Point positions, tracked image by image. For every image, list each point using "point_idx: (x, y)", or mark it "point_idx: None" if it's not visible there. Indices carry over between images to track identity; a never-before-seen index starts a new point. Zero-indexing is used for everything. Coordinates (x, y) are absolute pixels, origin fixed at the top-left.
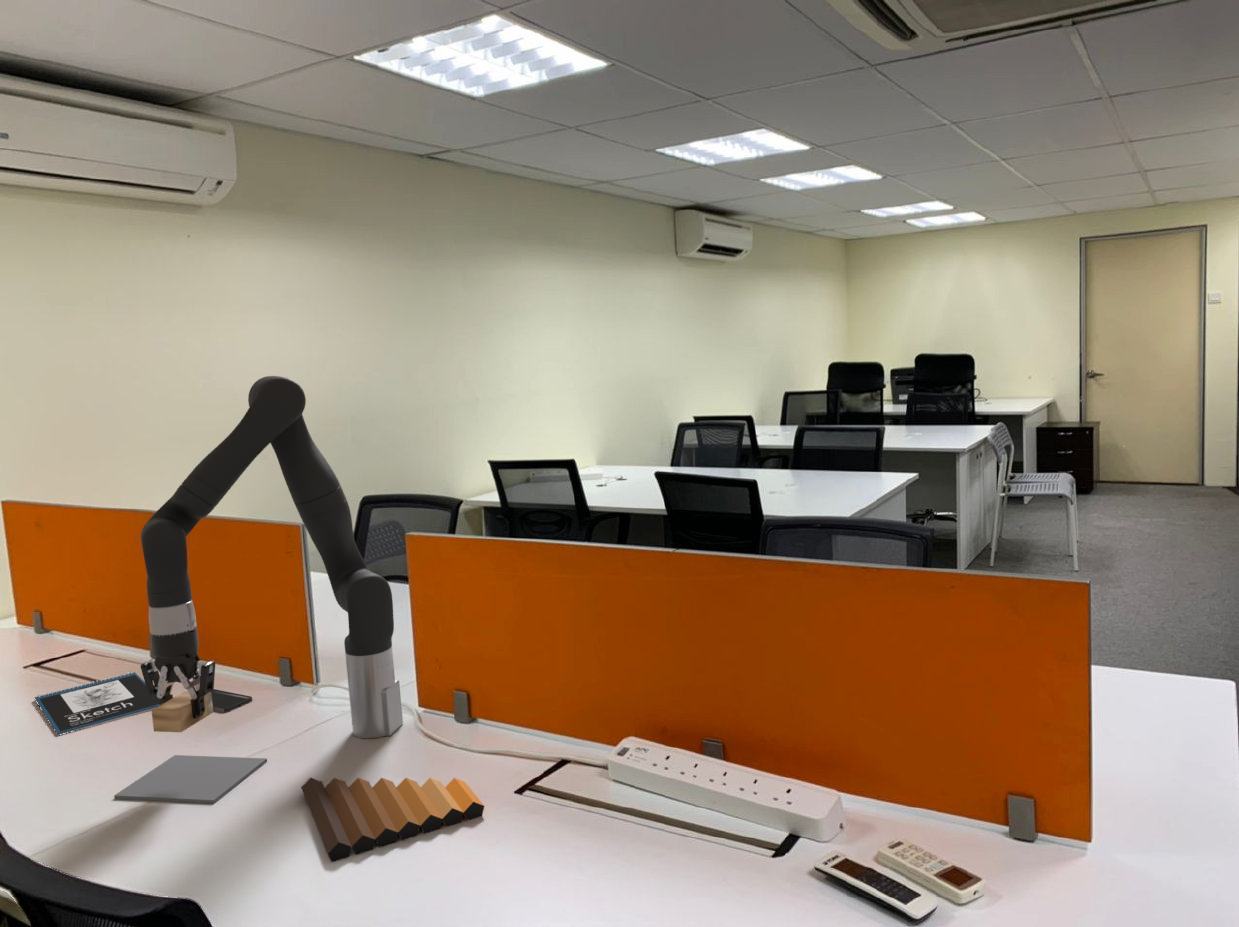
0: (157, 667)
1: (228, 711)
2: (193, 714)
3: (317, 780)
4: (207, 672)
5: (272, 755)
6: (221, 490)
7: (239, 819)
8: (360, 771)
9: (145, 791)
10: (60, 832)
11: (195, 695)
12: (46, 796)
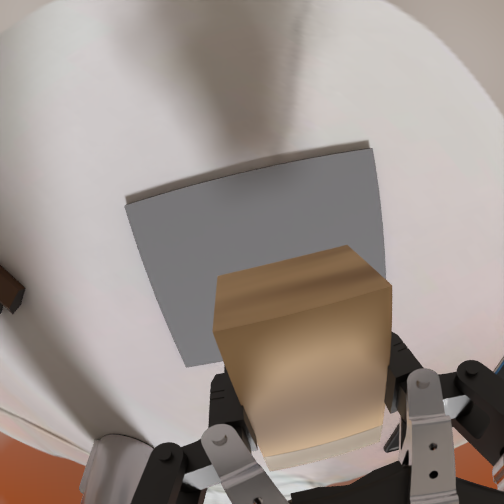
0: (492, 498)
1: (398, 425)
2: None
3: (9, 310)
4: None
5: (199, 380)
6: None
7: (39, 182)
8: (31, 361)
9: (320, 181)
10: (344, 23)
11: (206, 442)
12: (477, 134)
